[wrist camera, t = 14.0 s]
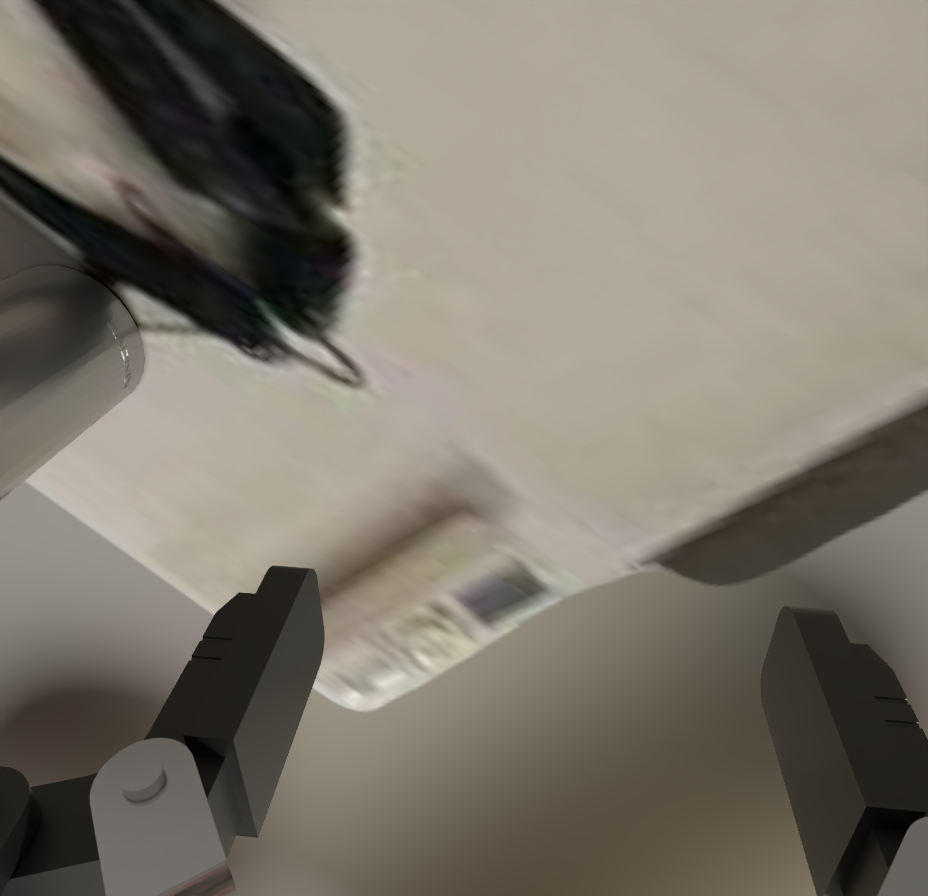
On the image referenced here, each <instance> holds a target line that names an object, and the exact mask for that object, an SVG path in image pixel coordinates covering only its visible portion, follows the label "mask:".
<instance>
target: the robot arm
mask: <svg viewBox="0 0 928 896" xmlns="http://www.w3.org/2000/svg"><path fill="white" fill-rule="evenodd" d="M144 359H145V357H144V349H143V343H142V340H141V337H140V334H139V331H138V328H137V326H136V324H135V322H134V321H133V319H132V317H131V315H130V313H129V312H128V311H127V309H126V308H125V307H124V306H123V304H122V303H121V302H120V300H119V299H118V298H117V297H116V296H114V295H113V294H112V293H111V292H110V291H109V290H108V289H107V288H106V287H105V286H103V285H102V284H100V283H99V282H97V281H96V280H94V279H93V278H91V277H89V276H87V275H85V274H83V273H81V272H79V271H77V270H74V269H70V268H66V267H62V266H54V265H42V266H37V267H32V268H29V269H26V270H24V271H22V272H20V273H18V274H15V275H13V276H11V277H9V278H6V279H4V280H2V281H0V500H2V499H3V498H4V497H5V496H7V495H8V494H9V493H10V492H11V491H12V490H14V489H15V488H16V487H17V486H19V485H20V484H21V483H22V482H24V481H25V480H26V479H27V478H28V477H30V476H31V475H32V474H33V473H34V472H36V471H37V470H38V469H39V468H41V467H42V466H43V465H44V464H45V463H47V462H48V461H49V460H50V459H51V458H53V457H54V456H55V455H56V454H58V453H59V452H60V451H61V450H62V449H64V448H65V447H66V446H67V445H68V444H70V443H71V442H72V441H73V440H75V439H76V438H77V437H78V436H79V435H81V434H82V433H83V432H84V431H85V430H87V429H88V428H89V427H90V426H92V425H93V424H94V423H95V422H96V421H98V420H99V419H100V418H101V417H103V416H104V415H105V414H106V413H107V412H109V411H110V410H111V409H112V408H113V407H115V406H116V405H117V404H118V403H120V402H121V401H122V400H123V399H124V398H126V397H127V396H128V395H129V394H130V393H132V391H133V390H134V389H135V387H136V386H137V385H138V383H139V381H140V379H141V376H142V373H143V369H144ZM323 649H324V624H323V617H322V610H321V602H320V595H319V588H318V580H317V575H316V572H315V570H314V569H310V568H297V567H284V566H271V567H270V568H269V569H268V571H267V573H266V574H265V576H264V578H263V580H262V582H261V584H260V586H259V588H258V590H257V592H256V594H251V593H238V594H237V595H236V596H235V597H233V598H232V599H231V600H230V601H229V602H228V603H226V604H225V605H224V606H223V607H222V608H221V609H219V610H218V611H217V612H216V614H215V615H214V617H213V619H212V621H211V623H210V624H209V626H208V628H207V630H206V632H205V633H204V635H203V640H202V641H200V642H199V644H198V646H197V647H196V649H195V651H194V653H193V655H192V659H191V661H189V662H188V663H187V665H186V667H185V669H184V671H183V672H182V674H181V676H180V678H179V680H178V681H177V683H176V685H175V687H174V688H173V690H172V692H171V694H170V695H169V697H168V699H167V701H166V703H165V704H164V706H163V708H162V710H161V712H160V713H159V715H158V717H157V719H156V721H155V722H154V724H153V726H152V727H151V729H150V731H149V733H148V734H147V736H146V737H145V739H144V740H143V741H140V742H137V743H134V744H132V745H130V746H128V747H126V748H125V749H123V750H121V751H120V752H118V753H117V754H116V755H114V756H113V757H112V758H111V759H110V760H109V761H108V762H107V763H106V764H105V765H104V766H103V767H102V769H101V770H100V771H99V772H98V773H96V774H93V775H89V776H85V777H81V778H75V779H70V780H65V781H61V782H55V783H50V784H45V785H40V786H35V787H30V785H29V783H28V781H27V780H26V778H25V777H24V775H23V774H22V773H20V772H19V771H17V770H15V769H12V768H9V767H0V896H238V893H237V890H236V887H235V883H234V880H233V878H232V875H231V872H230V869H229V866H228V863H227V860H226V859H227V857H228V854H229V851H230V849H231V846H232V844H233V841H234V839H235V836H236V835H239V836H248V837H256V838H257V837H258V836H259V833H260V831H261V827H262V825H263V822H264V819H265V816H266V814H267V811H268V808H269V806H270V803H271V800H272V797H273V795H274V792H275V789H276V786H277V783H278V781H279V778H280V775H281V772H282V769H283V767H284V764H285V761H286V758H287V756H288V753H289V750H290V747H291V745H292V742H293V739H294V736H295V734H296V730H297V728H298V725H299V722H300V720H301V717H302V714H303V711H304V709H305V705H306V703H307V700H308V697H309V694H310V692H311V689H312V686H313V684H314V681H315V678H316V675H317V673H318V670H319V667H320V664H321V660H322V655H323ZM761 698H762V705H763V709H764V712H765V716H766V719H767V723H768V726H769V730H770V733H771V737H772V740H773V744H774V747H775V751H776V754H777V757H778V761H779V765H780V768H781V772H782V775H783V778H784V782H785V785H786V789H787V792H788V796H789V799H790V803H791V806H792V810H793V813H794V817H795V820H796V824H797V827H798V831H799V834H800V838H801V841H802V844H803V848H804V852H805V855H806V859H807V862H808V865H809V869H810V872H811V876H812V879H813V883H814V886H815V890H816V893H817V896H928V739H927V737H926V735H925V733H924V731H923V729H920V728H919V721H918V719H917V717H916V715H915V713H914V711H913V709H912V707H911V705H908V703H907V697H906V695H905V693H904V691H903V689H902V687H901V685H900V683H899V681H898V679H897V677H896V675H895V673H894V671H893V670H892V669H891V668H890V667H889V666H888V665H887V664H886V663H885V662H884V661H883V660H882V659H881V658H880V657H879V656H878V655H877V654H876V653H875V652H874V651H873V650H872V649H871V648H870V647H869V646H868V645H866V644H854V643H850V642H849V640H848V637H847V635H846V633H845V631H844V629H843V627H842V624H841V622H840V620H839V618H838V616H837V614H836V613H835V612H834V611H833V610H828V609H814V608H801V607H788V606H785V607H783V608H782V609H781V611H780V613H779V616H778V619H777V622H776V626H775V629H774V632H773V636H772V639H771V642H770V646H769V649H768V652H767V655H766V658H765V661H764V665H763V668H762V673H761Z"/></svg>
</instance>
